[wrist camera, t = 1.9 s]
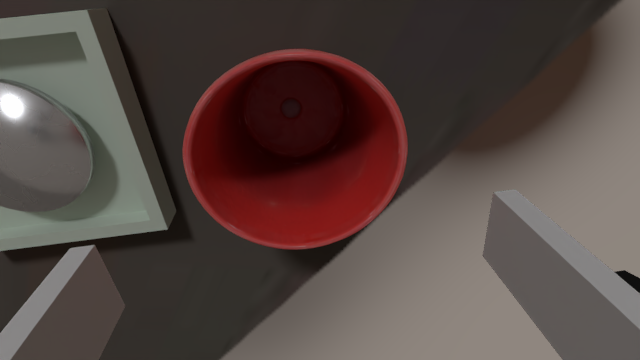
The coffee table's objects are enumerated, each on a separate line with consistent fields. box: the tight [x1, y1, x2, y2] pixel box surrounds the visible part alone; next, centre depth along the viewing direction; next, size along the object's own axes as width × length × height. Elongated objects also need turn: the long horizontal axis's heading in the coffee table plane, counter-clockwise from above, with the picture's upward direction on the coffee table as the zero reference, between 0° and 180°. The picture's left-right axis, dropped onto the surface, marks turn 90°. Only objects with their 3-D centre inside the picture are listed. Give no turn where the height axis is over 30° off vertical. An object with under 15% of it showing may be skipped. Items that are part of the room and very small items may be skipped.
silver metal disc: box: [0, 79, 95, 212], centre depth 23 cm, size 9×9×1 cm
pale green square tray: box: [0, 8, 176, 251], centre depth 24 cm, size 15×15×2 cm
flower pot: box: [183, 49, 408, 250], centre depth 21 cm, size 11×11×10 cm
